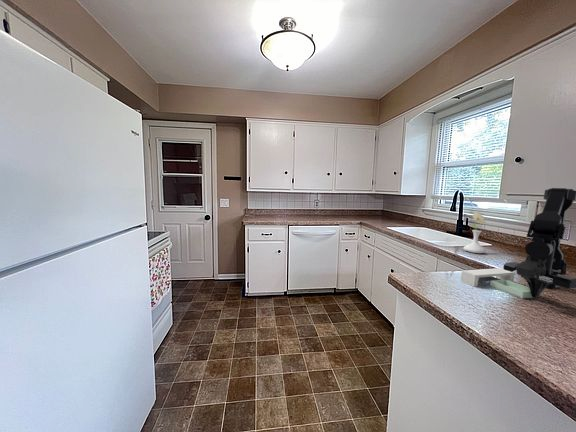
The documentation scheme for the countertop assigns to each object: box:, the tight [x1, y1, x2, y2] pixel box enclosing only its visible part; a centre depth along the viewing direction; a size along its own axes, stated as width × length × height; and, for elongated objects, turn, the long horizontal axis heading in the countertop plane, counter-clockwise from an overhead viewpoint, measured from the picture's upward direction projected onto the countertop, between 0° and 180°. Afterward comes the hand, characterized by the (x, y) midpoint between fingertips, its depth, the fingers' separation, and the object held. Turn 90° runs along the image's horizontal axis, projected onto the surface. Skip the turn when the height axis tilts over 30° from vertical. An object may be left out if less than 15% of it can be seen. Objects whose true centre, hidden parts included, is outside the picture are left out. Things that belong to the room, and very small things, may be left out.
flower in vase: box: [463, 212, 487, 254], centre depth 155 cm, size 13×11×25 cm
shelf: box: [460, 267, 516, 287], centre depth 103 cm, size 22×6×5 cm, turn 106°
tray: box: [489, 279, 534, 300], centre depth 94 cm, size 8×11×2 cm
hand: (534, 297), depth 88 cm, fingers closed
